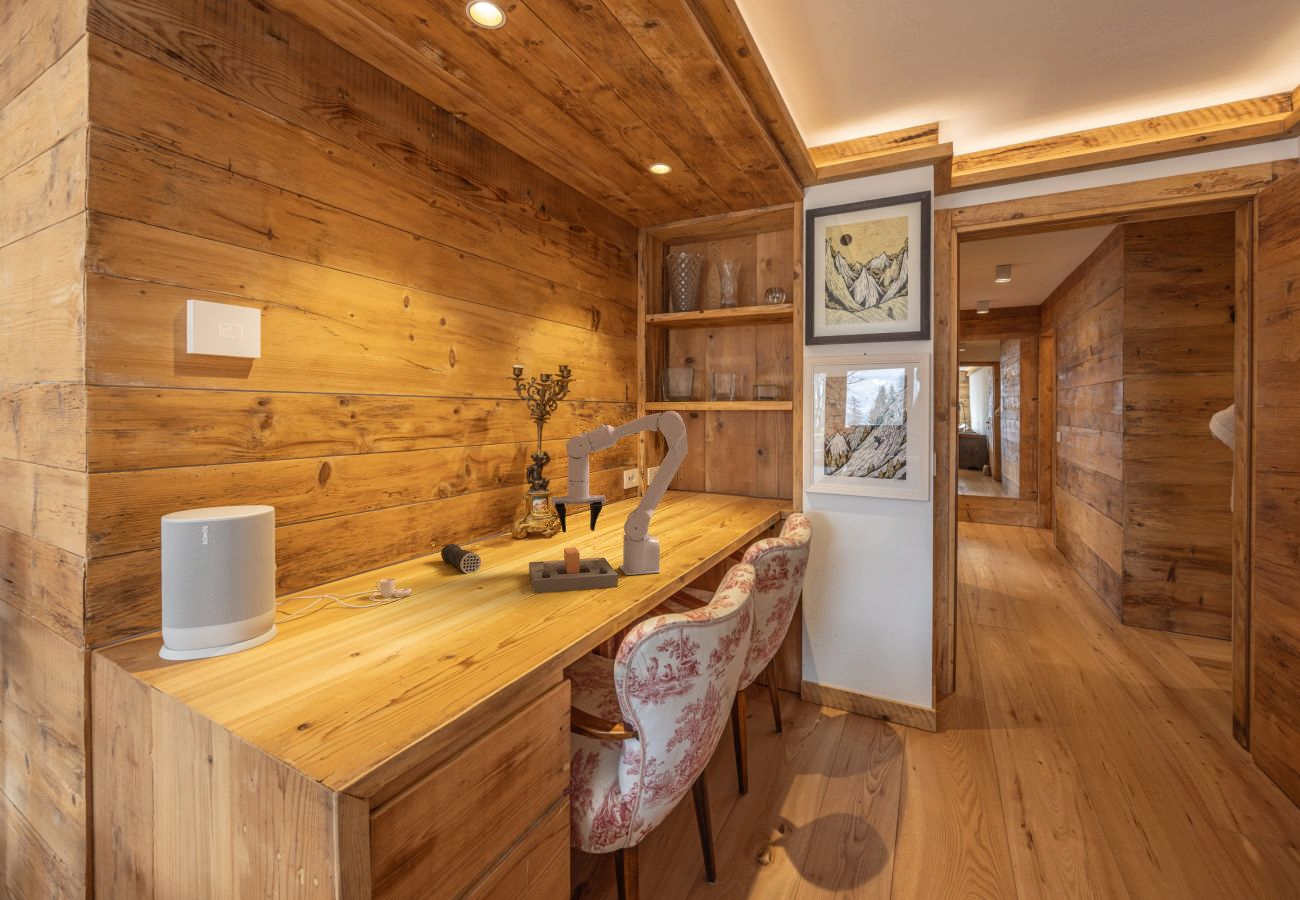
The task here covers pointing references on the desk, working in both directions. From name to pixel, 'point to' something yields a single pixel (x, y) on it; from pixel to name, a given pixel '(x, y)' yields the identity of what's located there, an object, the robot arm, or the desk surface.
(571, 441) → the robot arm
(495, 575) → the desk surface
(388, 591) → the teacup and saucer
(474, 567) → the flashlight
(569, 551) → the orange rectangular block
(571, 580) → the grey slotted tray
